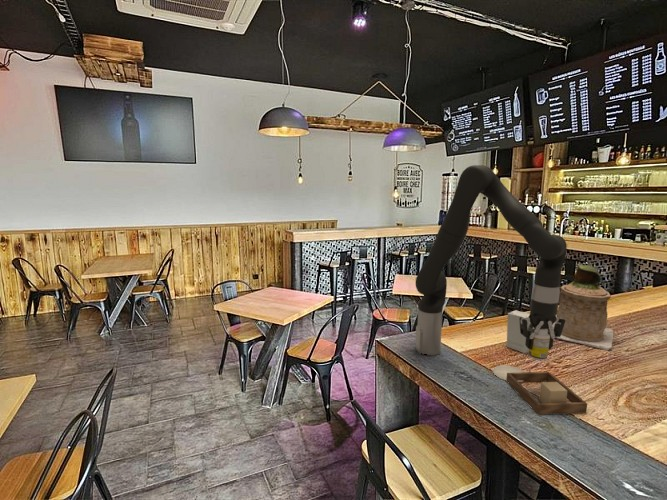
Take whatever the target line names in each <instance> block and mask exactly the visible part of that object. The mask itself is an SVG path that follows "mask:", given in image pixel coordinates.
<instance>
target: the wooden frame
mask: <svg viewBox="0 0 667 500" xmlns="http://www.w3.org/2000/svg"><path fill="white" fill-rule="evenodd" d="M517 380H524V382H523V383H526V382H527V383H528V382H531V383H532V382H558V383H559V384H560V385H561V386H562V387H564V388H565V389H566V390H567V398H566V400H568V401H569V402H566V403H542V402H540V401H538V400H537V399H536V398H535V397H534V396H533V395H532V394H531V393H530V392H529V391H528V390H527V389H526V388H525V387H524V386H523V385H522V384H521V383H519V382H518V381H517ZM506 382H507V383H508V382H509V383H508V385H509V386H512V387H513V388H514V389H515V390H516V391H517V392H518V393H519V394H520V395H519V394H518V393H517V392H516V391H515V390H514V389H513V388H512V387H511V388H512V389H513V390H514V391H515V392H516V393H517V394H518V395H519V396H520V398H522V400H523V401H524V402H525V403H526V402H527V403H528V404H529V405H530V406H531V407H532V408H531V407H530V406H529V405H528V404H527V403H526V404H527V405H528V406H529V407H530V408H531V409H532V410H533V411H534V412H535V413H536V414H537V415H563V414H566V415H567V414H587V409H588V403H587V402H586V401H585V400H584V399H582V398H581V397H580V396H579V395H577V394H576V393H575V391H573V390H572V389H571V388H569V387H568V386H567V385H566V384H564V383H563V382H562V381H561V380H560V379H559V378H557V377H556V376H555V375H554V374H552V373H551V372H550V371H534V372H533V371H531V372H528V371H527V372H525V371H524V372H521V373H507V381H506ZM551 413H552V414H551ZM553 413H555V414H553ZM556 413H557V414H556ZM558 413H559V414H558Z"/></svg>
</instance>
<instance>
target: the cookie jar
mask: <svg viewBox="0 0 667 500" xmlns="http://www.w3.org/2000/svg"><path fill="white" fill-rule="evenodd" d="M576 265H577V269H576V271H575V273H574V280H573V281H572V282H570V283H568V284H564V285H562V286H561V287H560V294H559V302H558V303H559V304H558V310H557V314H556V317H561V318H563V319H564V320H565V324H564V327H563V330H562V333H561V336H560V337H555V338H554V339H558V340H563V341H567V342H572V343H577V344H581V345H583V346H584V345H585V346H589V347H592V348H596V349H600V350H603V351H607V352H608V351H609V350H610V349H612V348H613V341H614V330H613V329H612V328H608V327H607V324H608V322H607V319H608V311H607V310H608V301H609V300H610V299H611V294H610V292H608V291H607V290H606V289H604V288H603V287H601V286H599V282H600V279H601V275H600V273H599V272H598V270H597V268H596V267H595V266H593V265H588V264H587V265H585V264H584V265H583V264H580V263H577V264H576ZM552 326H553V329H554V326H555V323H554V324H553V325H552Z"/></svg>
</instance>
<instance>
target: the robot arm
mask: <svg viewBox="0 0 667 500" xmlns="http://www.w3.org/2000/svg"><path fill="white" fill-rule="evenodd" d="M458 178H459V179H458V182H457V186H456V189H455V192H454V195H453V198H452V200H451V202H450V205H449V207H448V209H447V212H446V214H445V216H444V219H443V221H442V222H441V225H440V227H439V229H438V231H437V233H436V237H435V240H434V242H433V244H432V246H431V248H430V251H429V253H428V256H427V258H426V259H425V261H424V263H423V265H422V267H421V268H420V270H419V272H418V273H417V276H416V278H415V288H416V291H417V292H418V293H419V294H421V295H423V296H422V298H421V299H420V300H419V302H418V308H417V309H418V310H417V311H418V312H417V313H418V314H417V325H415V345H414V347H415V349H416V351H417V353H418V354H419V355H424V354H427V355H426V356H437V355H440V353H441V350H442V349H441V348H442V329H443V311H444V310H443V308H444V305H445V303H446V298H447V297H446V296H447V285H448V284H447V283H448V281H447V276H446V274H445V273H444V271H443V269H444V267H446V265H447V264H448V262H449V261H450V260H452V258H453V257H454V255H456V253H457V252H458V251H459V249H460V247H461V246H462V244H463V243H464V240H465V237H467V233H468V232H469V231H468V230H469V227H470V216H471V211H472V208H473V207H474V205H475V203H476V201H477V198H478V197H479V196H480V194H482V195H483V196H485V197H486V198H487V199H489V200H490V201H491V202H492V203H493V204H494V205H495V207H496V209H498V210H499V213H500V214H501V216H502V217H503V218H504V220H505V221H506V222H507V223H508V224H509V225H510V227H512V228H513V229H514V230H515V232H517V233H518V234H519V235H520V236H522V238H524V240H525V241H526V243H527V244H528V246H529V247H530V248H531V249H532V251H533V252H534V253H535V254H536V255H537V256H539V257H540V258H539V263H538V265H537V267H536V268H535V272H534V280H533V286H532V290H531V297H530V306H529V312H530V313H529V314H530V315H529V317H527V318H523V317H520V318H519V322H520V333H521V334H522V335H523V336H524V337H526V342H525V345H526V347H527V348H528V349H529V350H532V347H533V337H534V336H535V334H536V333H538V331H539V329H548V334H549V335H550V342H549V350H552V348H553V346H554V339H556V338H555V337H560V336H561V333H562V330H563V327H564V324H565V320H564V319H563V318H561V317H557V311H558V308H559V303H560V302H559V297H560V292H561V287H560V286H561V280H562V279H561V277H562V269H563V266H564V262H565V260H566V259H565V258H566V254H567V242H566V240H565V238H564V237H562V236H561V235H559V234H552V233H550V232H549V231H548V230H547V229H546V228H545V227H544V226H543V222H542V221H541V219H539V218H538V217H537V216H536V215H535V214H534V213H533V212H532V211H531V210H529V209H528V208H527V207H526V206H525V205H524V204H523V203H522V202H520V201H519V200H518V199H517V198H516V197H515V196H514V194H512V193H511V192H510V191H509V189H507V187H506V186H505V184H503V182H502V181H501V180H500V178H499V177H498V175H496V173H495V172H494V170H492V168H490V166H486V165H484V164H483V165H482V164H480V165H477V164H475V165H474V164H473V165H470V166H468V167H466V168H465V169H464V170H463V171H462V172H461V174H460V176H459V177H458ZM529 321H530V325H529V327H527V325H528V323H529ZM554 323H555V326H554V329H553V326H552V325H553V324H554ZM533 327H534V328H535V329H533ZM421 353H422V354H421ZM436 354H437V355H436Z"/></svg>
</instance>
